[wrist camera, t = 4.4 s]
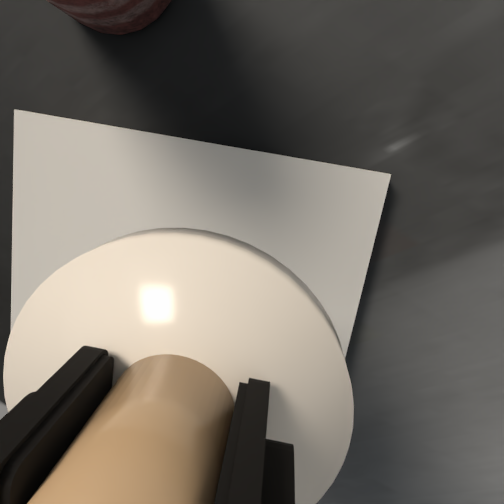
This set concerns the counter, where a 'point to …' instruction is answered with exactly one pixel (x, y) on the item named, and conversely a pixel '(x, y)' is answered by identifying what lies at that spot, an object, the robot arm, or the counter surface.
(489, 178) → the counter surface
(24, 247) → the mat
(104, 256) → the lid
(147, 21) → the can
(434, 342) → the counter surface
